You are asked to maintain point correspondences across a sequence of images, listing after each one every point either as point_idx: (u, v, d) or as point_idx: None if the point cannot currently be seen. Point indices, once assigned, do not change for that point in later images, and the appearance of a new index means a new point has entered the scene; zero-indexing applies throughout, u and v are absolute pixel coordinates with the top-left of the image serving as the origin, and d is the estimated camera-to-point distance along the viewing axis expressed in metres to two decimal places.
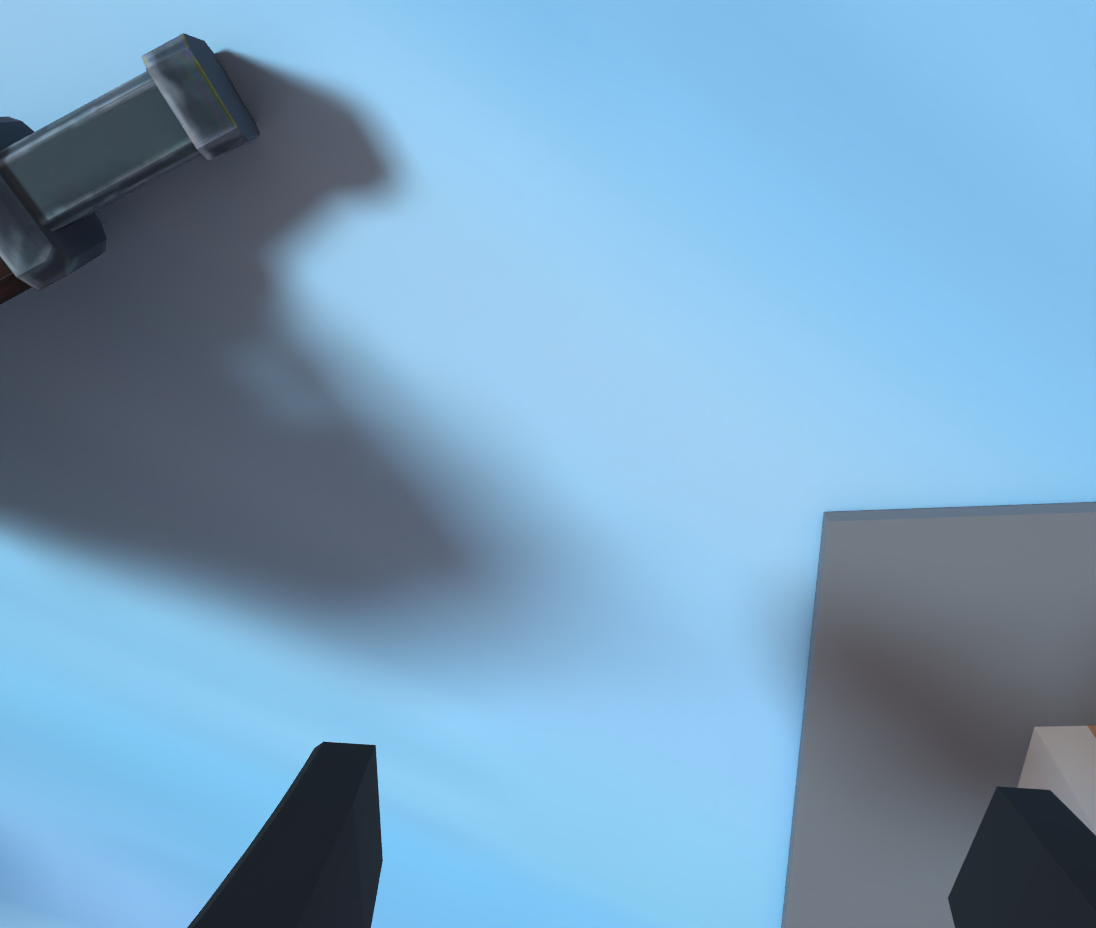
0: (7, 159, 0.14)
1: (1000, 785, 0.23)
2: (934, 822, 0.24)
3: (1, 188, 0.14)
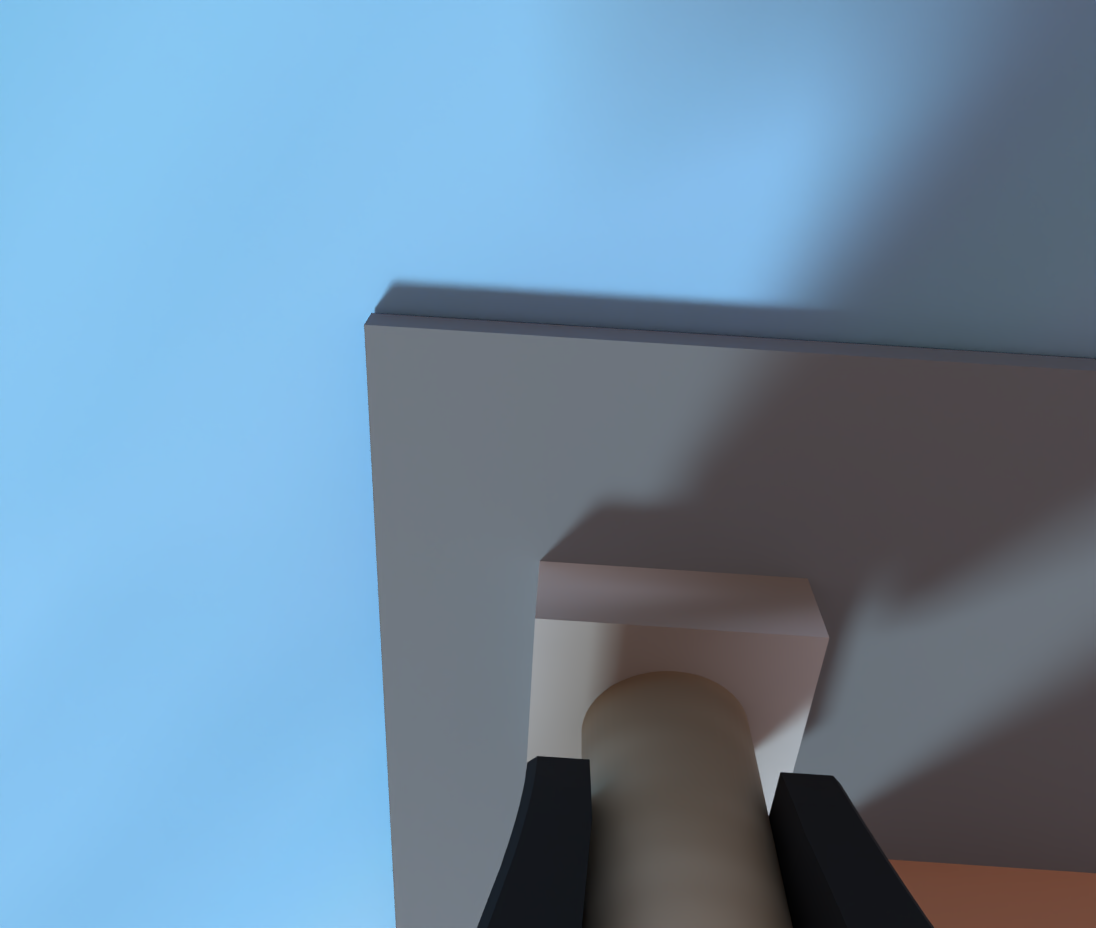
0: None
1: None
2: None
3: None
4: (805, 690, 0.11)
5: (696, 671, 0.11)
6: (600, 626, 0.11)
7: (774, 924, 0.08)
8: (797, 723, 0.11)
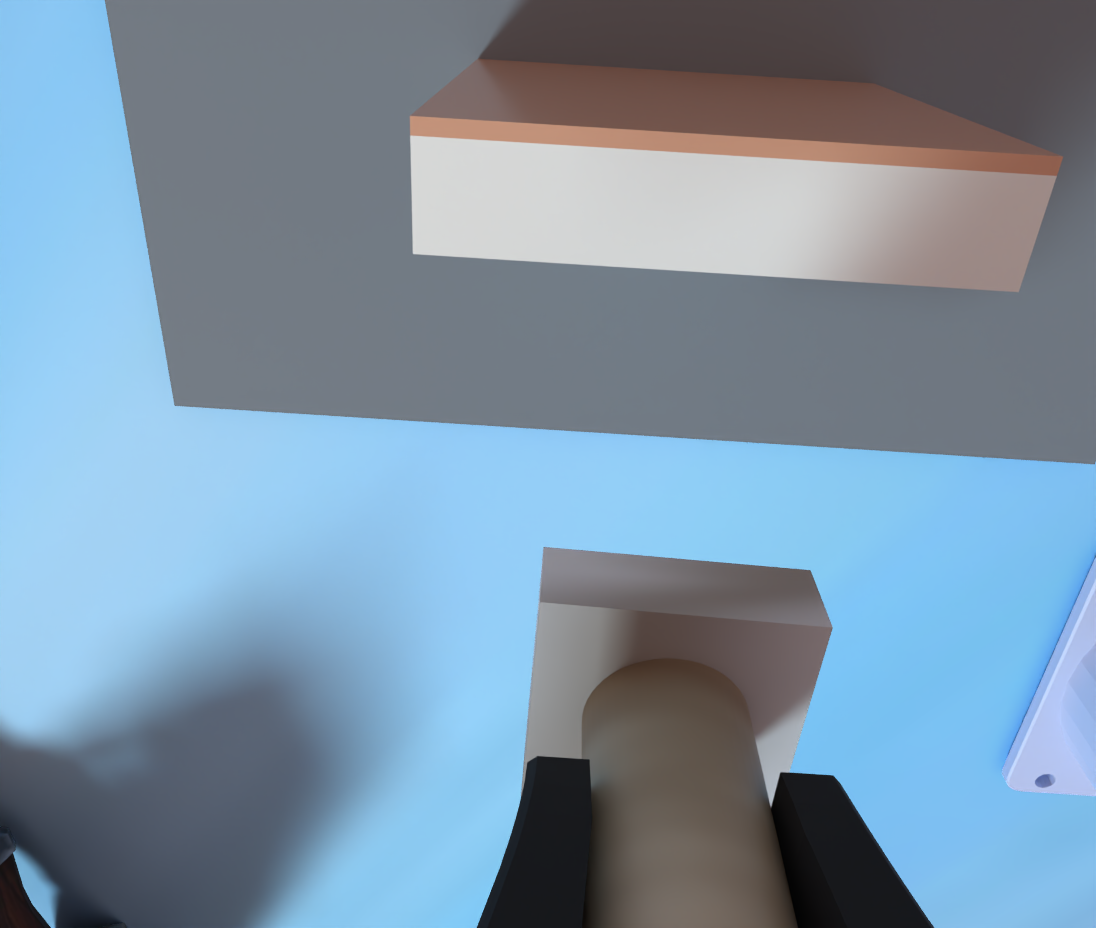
0: None
1: None
2: None
3: None
4: (807, 680, 0.11)
5: (699, 659, 0.11)
6: (604, 610, 0.11)
7: (777, 906, 0.08)
8: (797, 713, 0.11)
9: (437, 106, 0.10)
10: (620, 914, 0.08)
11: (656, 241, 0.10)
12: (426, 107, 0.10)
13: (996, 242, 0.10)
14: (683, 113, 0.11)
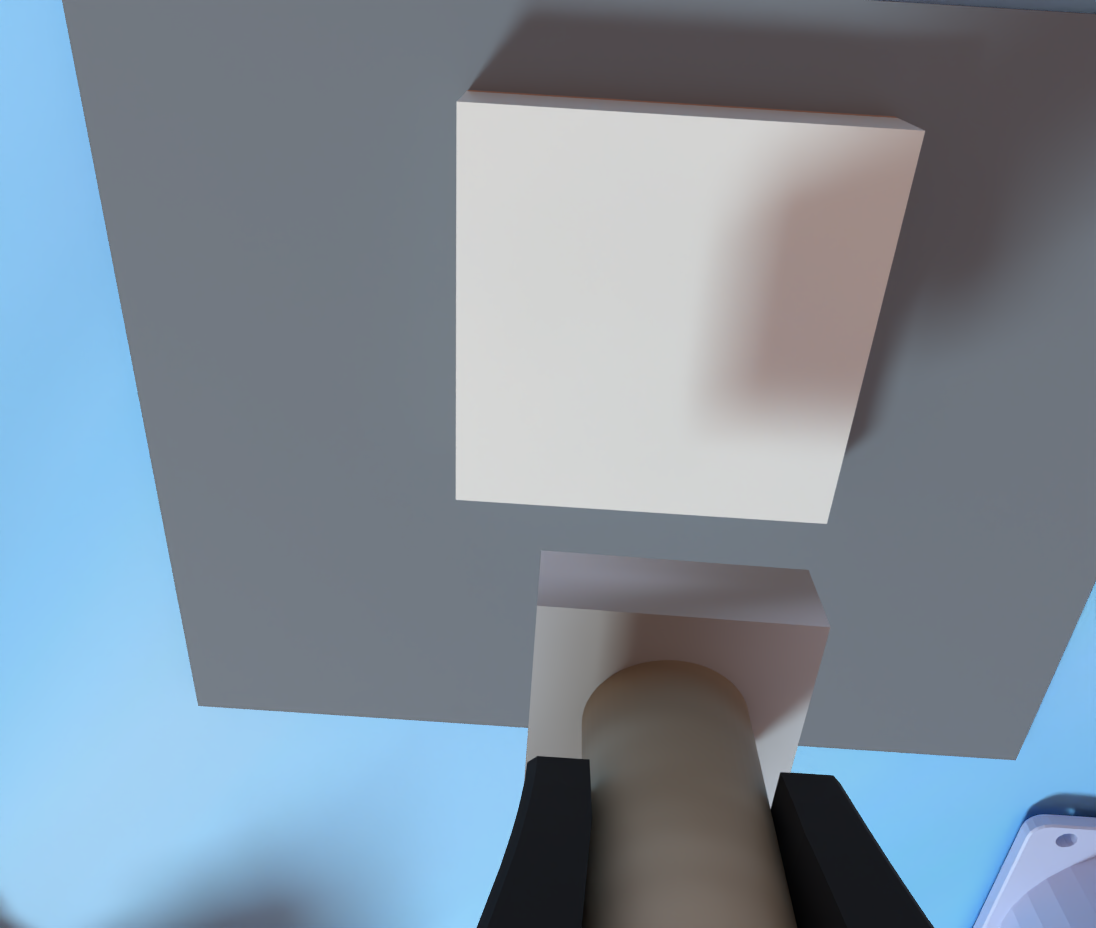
0: None
1: (564, 551, 0.19)
2: None
3: None
4: (806, 680, 0.11)
5: (697, 660, 0.11)
6: (601, 613, 0.11)
7: (776, 907, 0.08)
8: (798, 714, 0.11)
9: None
10: (619, 916, 0.08)
11: (641, 110, 0.13)
12: None
13: (885, 122, 0.14)
14: None
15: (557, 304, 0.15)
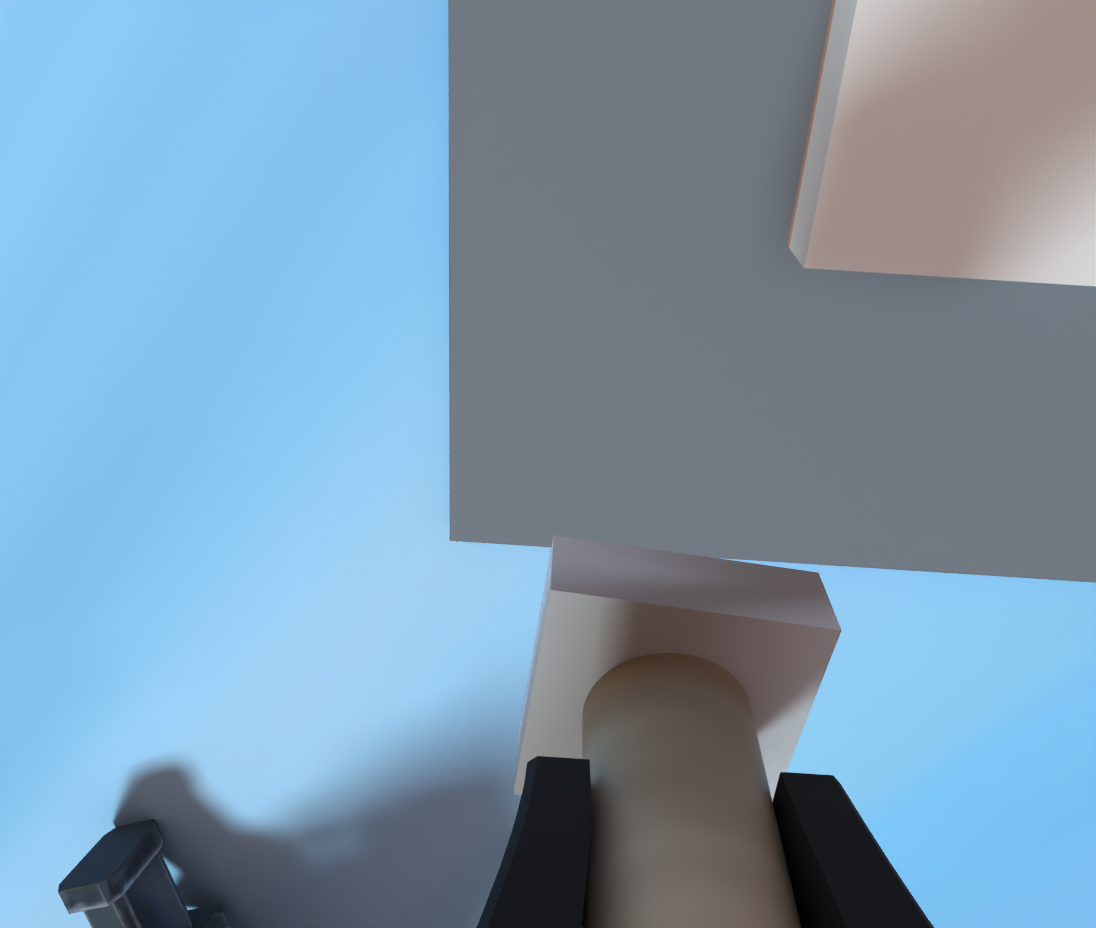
0: None
1: (874, 352, 0.18)
2: (926, 423, 0.19)
3: None
4: (811, 683, 0.11)
5: (705, 655, 0.11)
6: (614, 602, 0.11)
7: (784, 904, 0.08)
8: (798, 715, 0.11)
9: None
10: (628, 904, 0.08)
11: None
12: None
13: None
14: None
15: (962, 25, 0.14)
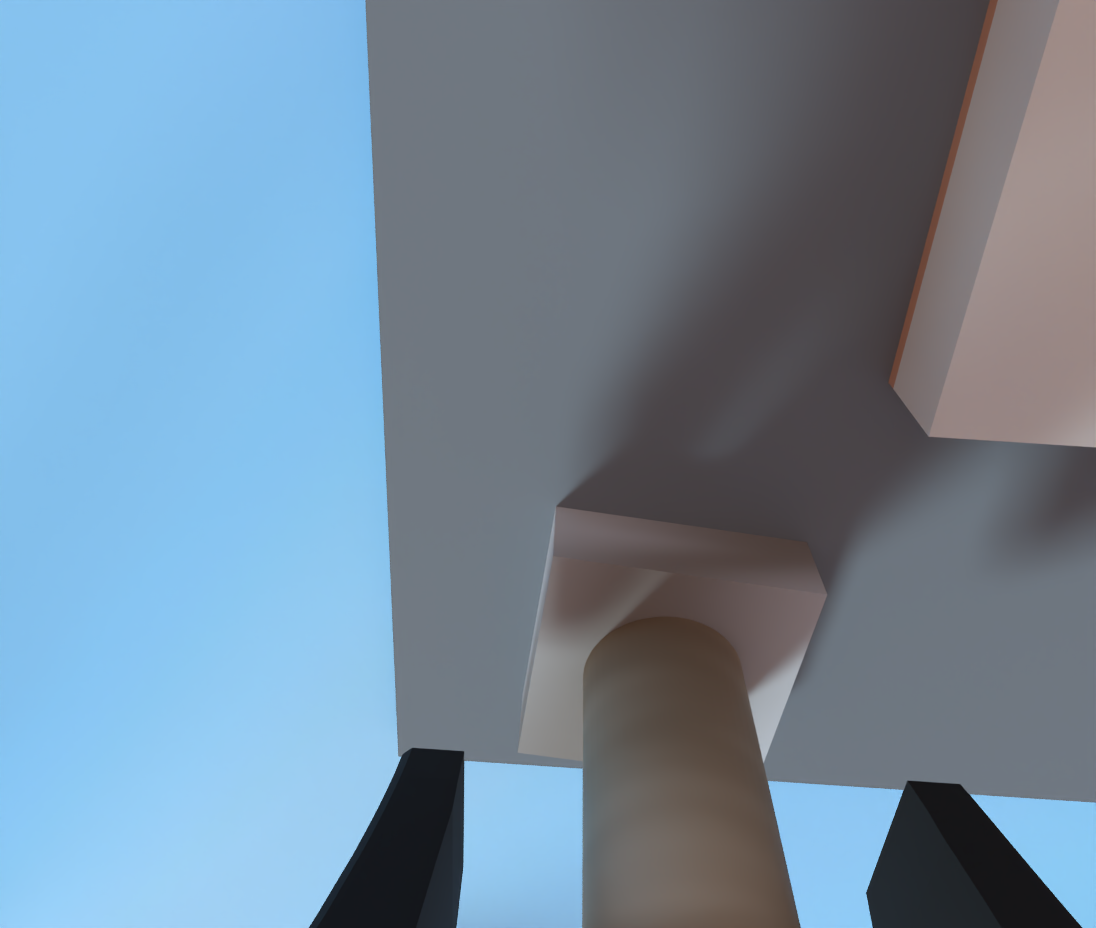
0: None
1: (1007, 528, 0.12)
2: (1075, 620, 0.13)
3: None
4: (799, 645, 0.12)
5: (699, 618, 0.12)
6: (613, 567, 0.11)
7: (769, 841, 0.09)
8: (788, 676, 0.12)
9: None
10: (624, 841, 0.09)
11: None
12: None
13: None
14: None
15: None
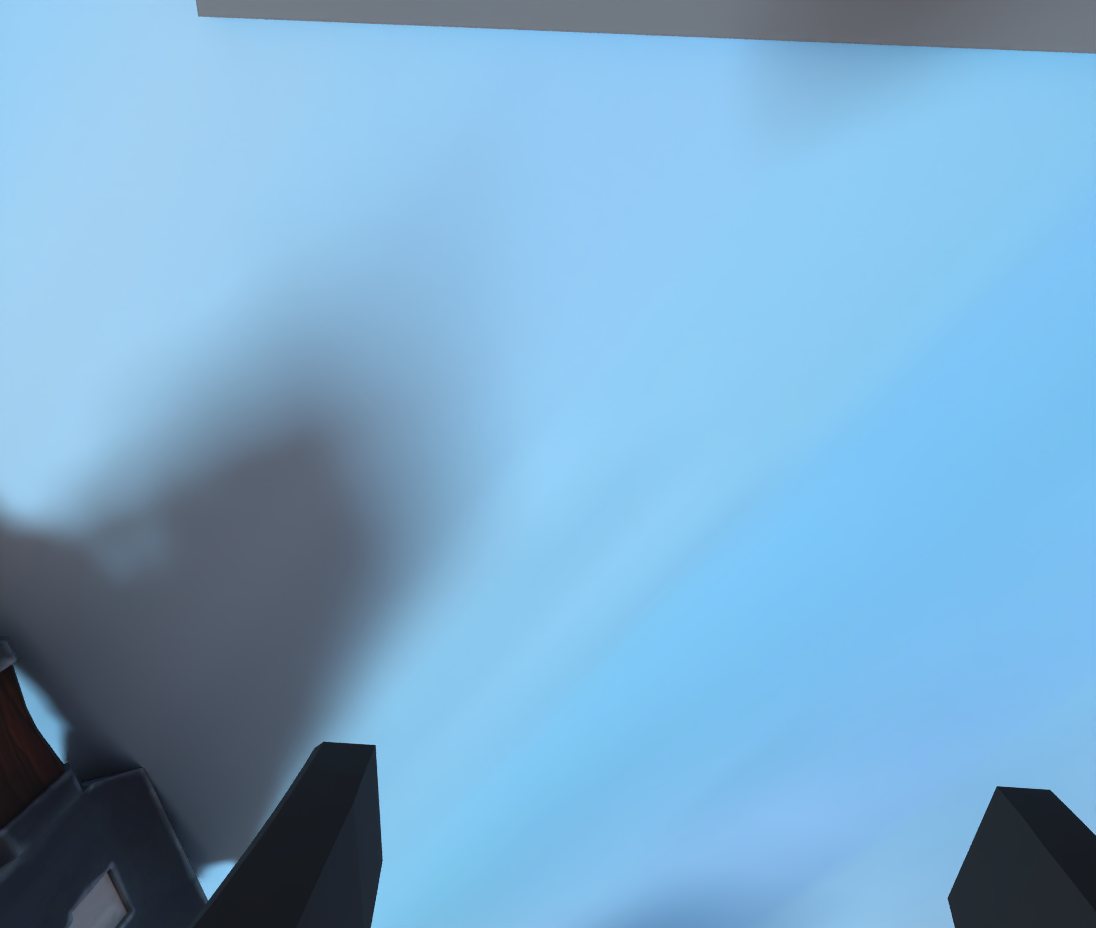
0: None
1: None
2: None
3: None
4: None
5: None
6: None
7: None
8: None
9: None
10: None
11: None
12: None
13: None
14: None
15: None
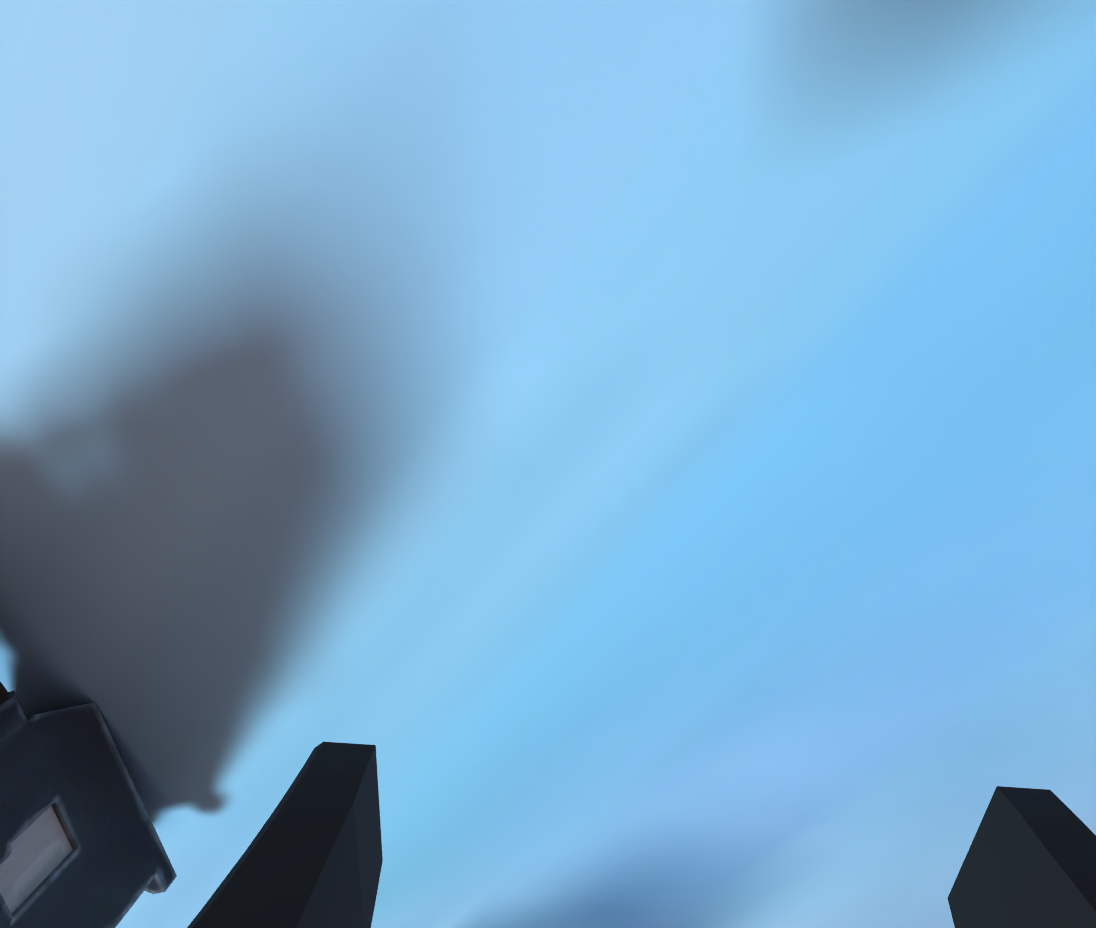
0: None
1: None
2: None
3: None
4: None
5: None
6: None
7: None
8: None
9: None
10: None
11: None
12: None
13: None
14: None
15: None
